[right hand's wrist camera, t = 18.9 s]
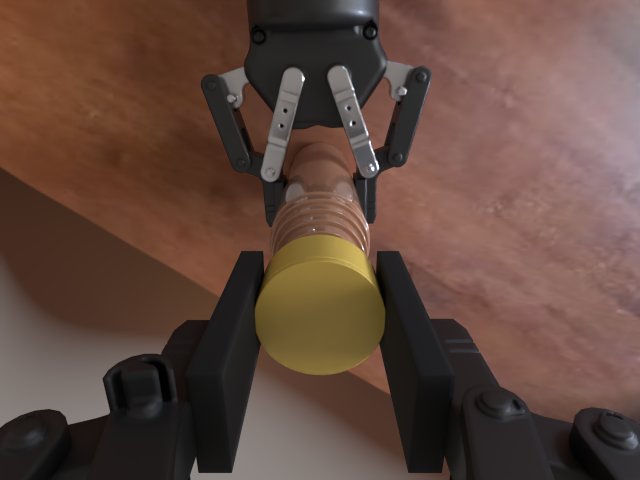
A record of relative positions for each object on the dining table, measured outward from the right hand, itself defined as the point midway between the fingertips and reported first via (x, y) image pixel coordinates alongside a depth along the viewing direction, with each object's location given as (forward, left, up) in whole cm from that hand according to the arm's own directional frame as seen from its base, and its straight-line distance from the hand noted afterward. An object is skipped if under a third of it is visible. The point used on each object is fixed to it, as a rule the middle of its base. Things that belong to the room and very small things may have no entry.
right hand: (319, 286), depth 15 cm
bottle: (0, 0, -20) cm, 20 cm away
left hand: (-2, -1, -14) cm, 14 cm away
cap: (0, 0, +2) cm, 2 cm away
